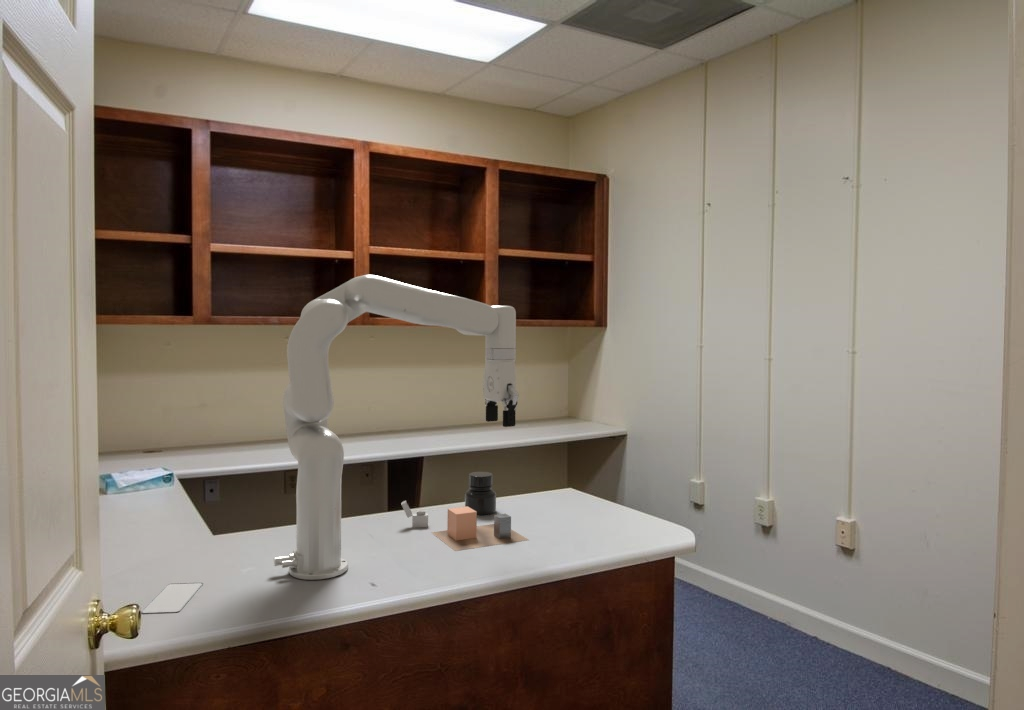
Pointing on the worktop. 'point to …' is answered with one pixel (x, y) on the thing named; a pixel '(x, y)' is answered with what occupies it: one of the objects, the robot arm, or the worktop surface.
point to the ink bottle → (481, 494)
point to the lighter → (416, 516)
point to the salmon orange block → (462, 523)
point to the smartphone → (172, 598)
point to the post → (502, 526)
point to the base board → (478, 539)
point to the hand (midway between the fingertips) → (500, 423)
